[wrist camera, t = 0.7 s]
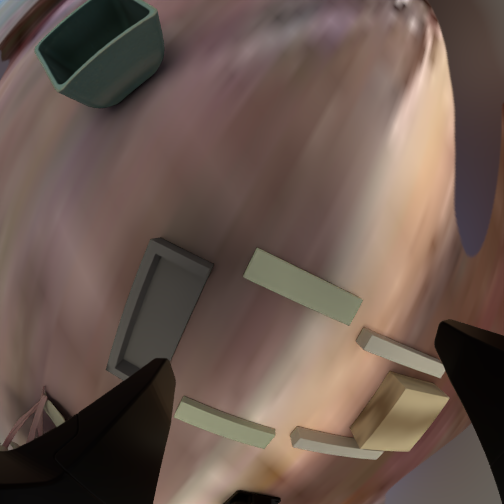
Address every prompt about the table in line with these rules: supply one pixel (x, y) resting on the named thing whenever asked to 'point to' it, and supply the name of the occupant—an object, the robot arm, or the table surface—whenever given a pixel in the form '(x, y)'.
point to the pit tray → (157, 307)
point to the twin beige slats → (384, 349)
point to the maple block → (398, 414)
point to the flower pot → (103, 51)
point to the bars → (292, 287)
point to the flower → (34, 421)
